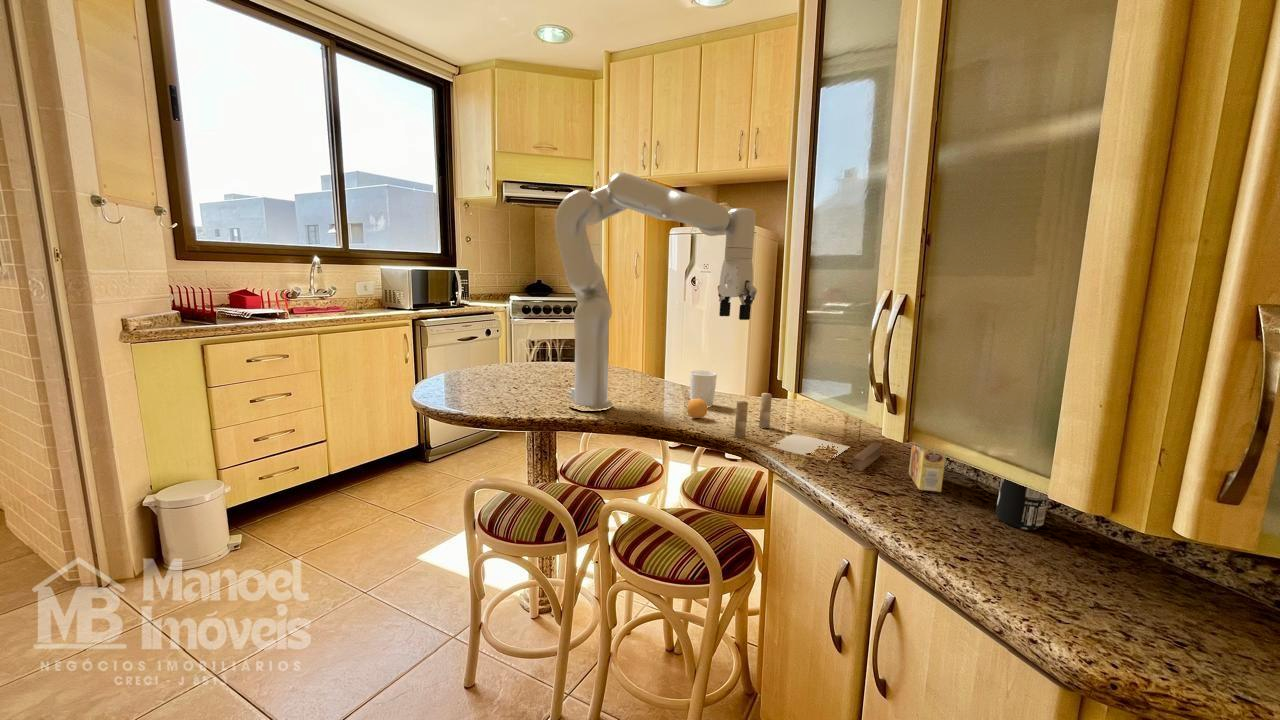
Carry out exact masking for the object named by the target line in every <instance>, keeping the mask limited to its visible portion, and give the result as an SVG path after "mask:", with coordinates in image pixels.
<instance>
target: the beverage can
mask: <svg viewBox="0 0 1280 720" xmlns="http://www.w3.org/2000/svg"><path fill="white" fill-rule="evenodd" d="M997 496H998V497H997V502H996V507H995V508H996V509H995V514H996V516H997V517H998V519H999V520H1000V521H1001V522H1002V523H1004V524H1007V525H1008V526H1012V527H1015V528H1017V529H1022V530H1029V531H1033V530H1038V529H1039V528H1041V527H1043V526H1044V524H1045V518H1046V512H1047V508H1048V507H1047V506H1048V501H1049V497H1047V496H1046V495H1044V494H1042V493H1039V492H1036V491H1033V490H1031V489H1029V488H1027V487H1024V486H1021V485H1018V484H1016V483H1013V482H1011V481H1008V480H1006V479H1003V478H1001V477H1000V484H999V490H998V495H997Z"/></svg>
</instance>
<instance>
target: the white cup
mask: <svg viewBox="0 0 1280 720" xmlns="http://www.w3.org/2000/svg"><path fill="white" fill-rule="evenodd" d="M689 372H690V375H689V379H690V380H689V381H690V383H689V392H690V394H689V395H690V401H691V400H693V399H696V398H698V399H702V400H703V401H704V402H705V403H706V404H707V406H712V405H713V406H714V398H715V393H716V386H717V385H716V384H717V377H718V373H717V372H715V371H709V370H692V371H689Z"/></svg>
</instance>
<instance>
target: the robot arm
mask: <svg viewBox="0 0 1280 720" xmlns="http://www.w3.org/2000/svg"><path fill="white" fill-rule="evenodd" d="M626 210H631V211H634V212H637V213H639V214H640V213H641V214H643V215H646V216H649V217H652V218H655V219H657V220H662V221H673V222H677V223H682V224H685V225H689V226H692V227H694V228H697V229H698V230H700V232H701V233H703V234H704V235H705V236H709V237H716V236H725V245H724V246H725V247H724V259H723V262H722V266H721V271H720V277H719V285H717V292H718V297H719V300H718V301H719V314H718V315H719V316H720V317H730V316H731V305H732V304H731V303H732V302H730V300H731V299H732V298H739V301H740V304H739V312H738V320H739V321H749V320H750V319H751V307H752V305H753V302H754V300H755V297H756V295H757V292H758V289H757V288H756V287H755V285H754V283H753V282H754V269H753V268H754V266H753V259H754V258H753V256H754V242H755V228H756V217H757V215H756V214H757V213H756V212H755V210H754V209H752V208H746V207H737V208H736V207H735V208H730V210H728V209H727V208H726V207H725V206H724V205H723V204H720V203H717V202H715V201H713V200H710V199H707V198H704V197H701V196H698V195H694V194H691V193H688V192H684V191H680V190H677V189H674V188H670V187H668V186H665V185H662V184H659V183H656V182H653V181H649V180H647V179H645V178H642V177H639V176H637V175H633V174H631V173H626V172H617V173H615V174H613V175H612V176H611V177H610V178H609V180H608V182H607V185H604V186H602V187H601V188H598V189H596V190H594V191H590V190H586V189H583V188H582V189H576V190H574V191H571V192H570V193H568V194H567V195H566V196H565V197H564V198H563V200H562V201H561V202H560V203H559V206H558V207H557V210H556V212H555V213H556V214H555V218H554V232H555V237H556V241H557V245H558V248H559V254H560V257H561V261H562V265H563V269H564V272H565V273H564V274H565V278H566V282H567V283H568V286H569V288H570V289H572V290H573V291H574V296H575V299H576V302H577V306H576V307H575V310H574V314H573V315H574V316H573V318H574V319H573V320H574V323H573V324H574V387H571V388H570V389H569V390H568V391H567V392H566V395H567V396H571V400H572V401H574V403H575V404H577V405H580V406H585V407H589V408H590V409H603V408H608V407H611V406H612V405H613V402H612V401H611V400H609V399H608V393H609V392H608V390H609V348H610V347H609V346H610V344H609V343H610V342H609V341H610V334H609V333H610V320H611V317H612V314H613V312H612V311H613V310H612V305H611V301H610V297H609V294H608V289H607V286H606V282H605V278H604V274H603V270H602V268H601V267H600V266H599V264H598V263H597V262H596V261H595V258H594V255H593V251H592V248H591V244H590V243H591V242H590V240H589V236H588V232H587V226H592V225H595V224H598V223H600V222H603V221H604V220H606V219H609V218H611V217H613V216H615V215H618V214H620V213H623V212H624V211H626ZM612 407H613V406H612Z"/></svg>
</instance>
